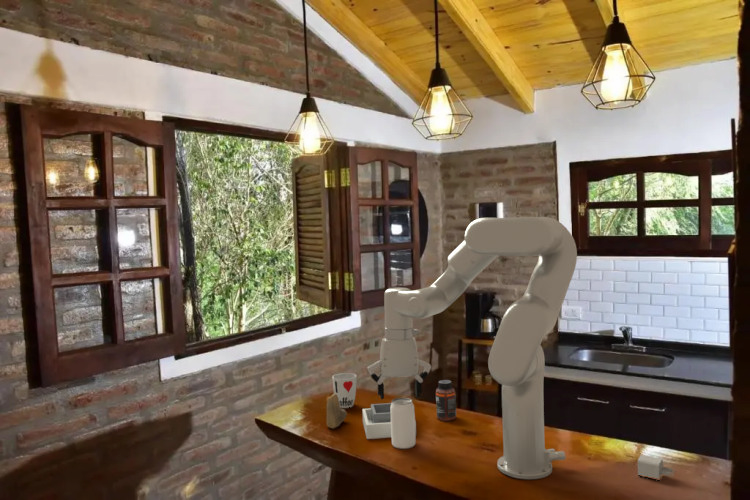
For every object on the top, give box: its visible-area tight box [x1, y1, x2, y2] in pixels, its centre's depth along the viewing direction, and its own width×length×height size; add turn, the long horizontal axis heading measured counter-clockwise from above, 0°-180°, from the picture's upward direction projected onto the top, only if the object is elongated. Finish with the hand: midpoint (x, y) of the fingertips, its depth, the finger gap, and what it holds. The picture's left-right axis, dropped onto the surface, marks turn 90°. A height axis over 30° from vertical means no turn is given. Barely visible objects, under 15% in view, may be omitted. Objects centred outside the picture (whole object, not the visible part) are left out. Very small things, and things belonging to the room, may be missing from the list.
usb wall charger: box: [637, 454, 676, 479], centre depth 122 cm, size 4×7×4 cm, turn 50°
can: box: [390, 397, 416, 450], centre depth 147 cm, size 6×6×12 cm
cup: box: [331, 372, 357, 409], centre depth 182 cm, size 8×8×10 cm
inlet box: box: [362, 402, 417, 440], centre depth 160 cm, size 14×14×6 cm
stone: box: [326, 393, 348, 429], centre depth 164 cm, size 9×5×10 cm, turn 155°
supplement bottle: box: [435, 379, 457, 422], centre depth 166 cm, size 6×6×11 cm
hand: (399, 396), depth 147 cm, fingers open, 9 cm apart
